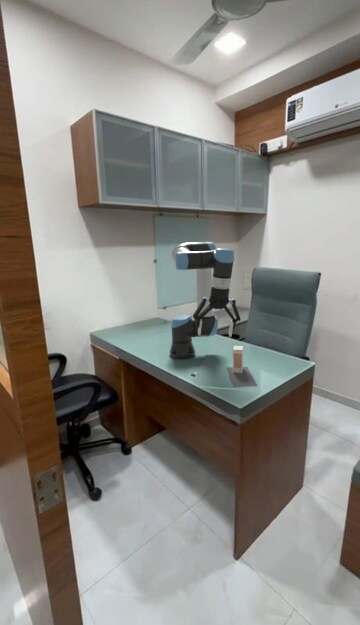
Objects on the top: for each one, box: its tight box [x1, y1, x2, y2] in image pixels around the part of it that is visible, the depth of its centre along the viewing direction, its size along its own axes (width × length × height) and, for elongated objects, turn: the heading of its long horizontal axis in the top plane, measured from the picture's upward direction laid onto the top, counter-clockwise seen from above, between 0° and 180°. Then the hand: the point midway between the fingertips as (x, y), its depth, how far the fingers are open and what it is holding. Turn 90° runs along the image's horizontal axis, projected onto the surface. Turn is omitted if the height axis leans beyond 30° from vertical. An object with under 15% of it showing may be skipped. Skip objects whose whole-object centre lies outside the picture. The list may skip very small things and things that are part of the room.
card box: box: [232, 345, 244, 373], centre depth 153 cm, size 6×4×12 cm
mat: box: [225, 366, 258, 388], centre depth 148 cm, size 22×11×1 cm, turn 0°
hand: (214, 334), depth 132 cm, fingers open, 13 cm apart
